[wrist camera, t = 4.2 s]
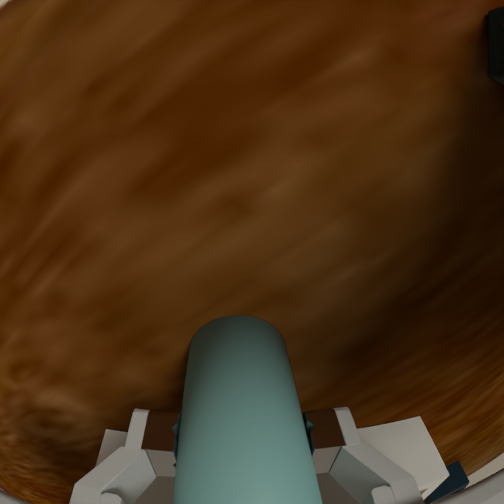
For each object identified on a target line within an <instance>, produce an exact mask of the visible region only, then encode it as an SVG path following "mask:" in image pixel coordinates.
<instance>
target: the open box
mask: <svg viewBox="0 0 504 504" xmlns="http://www.w3.org/2000/svg"><path fill="white" fill-rule="evenodd" d="M357 431H358V434H359V437H360V439H361V442H362V443H367V444H369V445H370V446H371V447H373V448H374V449H375V450H377V451H378V452H380V453H381V454H382V455H384V456H385V457H386V458H388V459H389V460H391V461H392V462H394V463H395V464H396V465H398V466H399V467H401V468H402V469H404V470H405V471H407V472H408V473H409V474H411V475H412V476H414V478H415V481H416V483H417V486H418V488H419V491H420V493H421V495H422V498H423V500H424V499H425V498H426V497H427V496H429V495H430V494H431V493H432V492H433V491H434V490H435V489H436V488H437V487H438V486H439V485H440V484H441V483H442V482H443V481H444V480H445V479H446V478H447V477H448V476H449V473H448V471H447V469H446V467H445V464H444V462H443V460H442V458H441V456H440V454H439V452H438V450H437V448H436V446H435V444H434V442H433V441H432V439H431V437H430V435H429V433H428V431H427V429H426V427H425V425H424V423H423V421H422V419H421V418H420V416H418V417H414V418H409V419H405V420H401V421H396V422H392V423H387V424H382V425H377V426H372V427H366V428H360V429H357ZM127 434H128V432H122V431H115V430H109V429H106V431H105V435H104V438H103V441H102V445H101V448H100V452H99V455H98V459H97V463H96V466H97V465H99V464H100V463H101V462H102V461H103V460H105V459H106V458H107V457H108V456H109V455H111V454H112V453H113V452H114V451H115V450H117V449H118V448H119V447H120V446H121V447H124V446H125V442H126V438H127ZM96 466H95V467H96ZM316 477H317V481H318V486H319V490H320V495H321V499H322V503H323V504H360V503H359V502H358V501H357V500H356V499H354V498H353V497H352V496H351V495H350V494H349V493H348V492H347V491H346V490H345V489H344V488H343V487H342V486H341V485H340V484H339V483H338V482H337V481H336V480H335V479H334V478H333V477H332V476H331V475H330V474H329V472H328V473H319V474H316ZM174 483H175V477H168V476H156V478H155V479H154V481H153V482H152V483H151V484H150V485H149V486H148V487H147V489H146V490H145V491H144V492H143V493H142V494H141V495H140V497H139V498H138V499H137V500H136V501H135V502H134V503H133V504H173V495H174Z"/></svg>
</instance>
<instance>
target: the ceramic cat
mask: <svg viewBox="0 0 504 504" xmlns="http://www.w3.org/2000/svg"><path fill="white" fill-rule="evenodd" d="M488 48H489V72H488V77H490V78H492V79H493V80H495V81H497V82H498V83H500V84H502V85H503V86H504V6H503V7H499V8H496V9H493V10H490V11H489V12H488Z"/></svg>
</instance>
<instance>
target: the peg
mask: <svg viewBox="0 0 504 504" xmlns="http://www.w3.org/2000/svg"><path fill="white" fill-rule="evenodd" d="M173 504H323V503H322V499H321V495H320V490H319V486H318V481H317V477H316V473H315V468H314V464H313V460H312V455H311V451H310V447H309V442H308V438H307V434H306V430H305V425H304V421H303V417H302V413H301V408H300V404H299V400H298V396H297V391H296V387H295V383H294V379H293V375H292V371H291V366H290V362H289V358H288V354H287V350H286V346H285V342H284V339H283V337H282V335H281V334H280V333H279V331H278V330H277V329H276V328H275V327H273V326H272V325H271V324H269V323H267V322H265V321H263V320H261V319H258V318H254V317H250V316H240V315H237V316H227V317H222V318H219V319H216V320H213V321H211V322H209V323H207V324H206V325H204V326H203V327H202V328H201V329H200V330H198V331H197V333H196V334H195V335H194V337H193V339H192V341H191V344H190V348H189V355H188V363H187V370H186V378H185V386H184V394H183V403H182V411H181V421H180V430H179V439H178V450H177V460H176V471H175V483H174V495H173Z"/></svg>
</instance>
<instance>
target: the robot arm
mask: <svg viewBox="0 0 504 504" xmlns="http://www.w3.org/2000/svg"><path fill="white" fill-rule="evenodd" d="M302 417H303V421H304V425H305V430H306V434H307V438H308V442H309V447H310V451H311V455H312V460H313V464H314V468H315V473H316V474H319V473H328V472H329V474H330V475H331V476H332V477H333V478H334V479H335V480H336V481H337V482H338V483H339V484H340V485H341V486H342V487H343V488H344V489H345V490H346V491H347V492H348V493H349V494H350V495H351V496H352V497H353V498H354V499H356V500H357V501H358V502H359V503H360V504H425V503H424V500H423V498H422V495H421V493H420V491H419V488H418V486H417V483H416V481H415V478H414V476H412V475H411V474H409V473H408V472H407V471H405V470H404V469H402V468H401V467H399V466H398V465H396V464H395V463H394V462H392V461H391V460H389V459H388V458H386V457H385V456H384V455H382V454H381V453H380V452H378V451H377V450H375V449H374V448H373V447H371V446H370V445H369V444H367V443H362V442H361V439H360V437H359V434H358V431H357V428H356V426H355V423H354V420H353V418H352V415H351V412H350V410H349V408H348V407H340V408H333V409H332V408H329V409H321V410H312V411H304V412H303V414H302ZM180 421H181V415H180V413H173V412H163V411H154V410H145V409H136V408H135V410H134V411H133V414H132V418H131V422H130V425H129V429H128V434H127V438H126V442H125V446H124V447H121V446H120V447H119V448H118V449H117V450H115V451H114V452H113V453H112V454H111V455H109V456H108V457H107V458H106V459H105V460H103V461H102V462H101V463H100V464H99V465H97V466H96V467H95V468H94V469H93V470H91V471H90V472H89V473H88V474H87V475H85V476H84V477H83V478H82V479H80V480H79V481H78V482H77V483H75V485H74V489H73V493H72V496H71V500H70V504H133V503H134V502H135V501H136V500H137V499H138V498H139V497H140V495H141V494H142V493H143V492H144V491H145V490H146V489H147V487H148V486H149V485H150V484H151V483H152V482H153V481H154V479H155V478H156V476H168V477H175V471H176V460H177V450H178V439H179V430H180ZM0 504H31V503H29V502H26V501H24V500H22V499H19V498H17V497H15V496H13V495H10V494H8V493H6V492H4V491H2V490H0ZM431 504H504V468H503V469H501V470H500V471H498V472H496V473H494V474H492V475H491V476H489V477H487V478H485V479H483V480H481V481H479V482H477V483H476V484H474V485H472V486H470V487H468V488H465V489H463V490H461V491H459V492H457V493H455V494H452V495H450V496H448V497H446V498H443V499H441V500H438V501H436V502H434V503H431Z"/></svg>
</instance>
